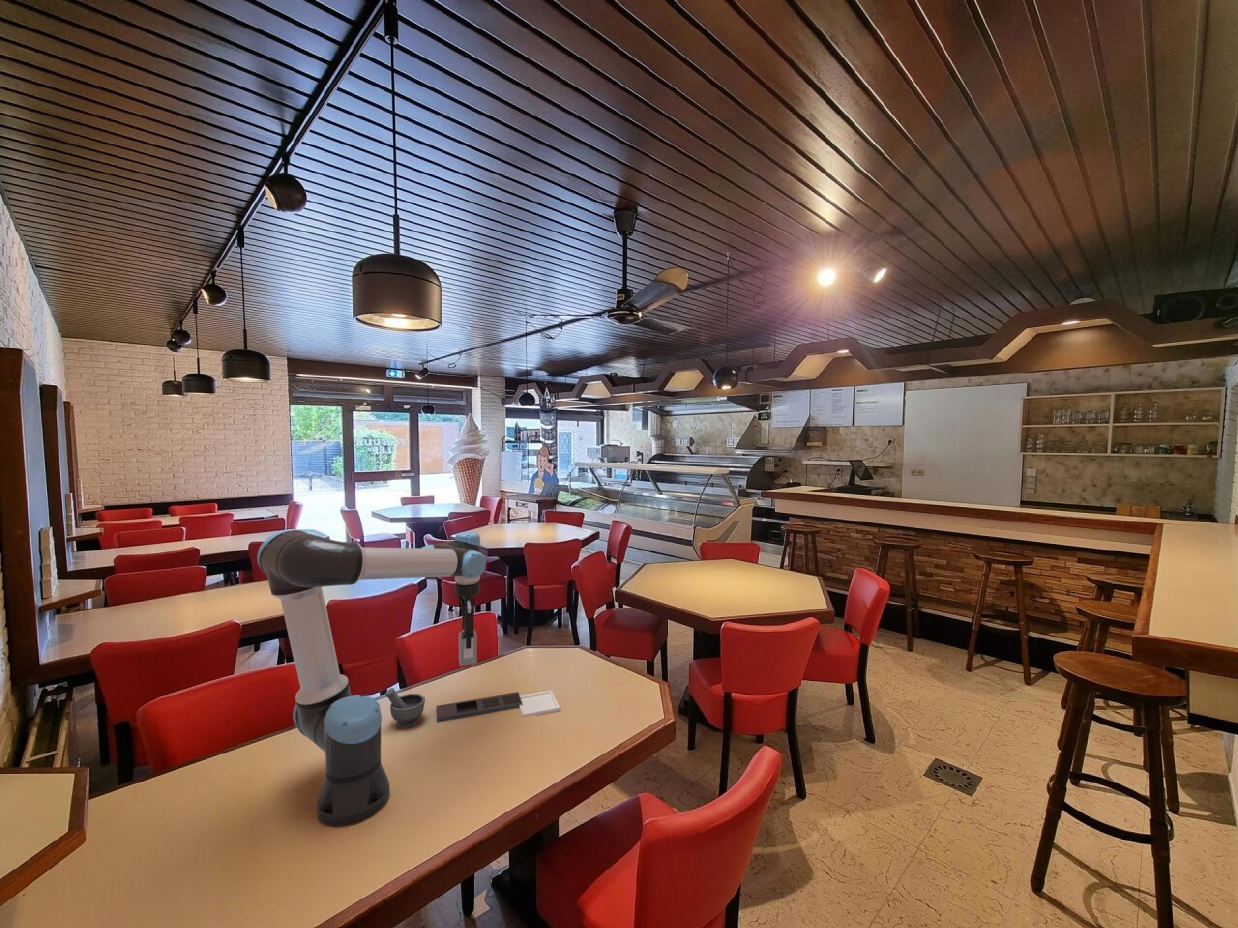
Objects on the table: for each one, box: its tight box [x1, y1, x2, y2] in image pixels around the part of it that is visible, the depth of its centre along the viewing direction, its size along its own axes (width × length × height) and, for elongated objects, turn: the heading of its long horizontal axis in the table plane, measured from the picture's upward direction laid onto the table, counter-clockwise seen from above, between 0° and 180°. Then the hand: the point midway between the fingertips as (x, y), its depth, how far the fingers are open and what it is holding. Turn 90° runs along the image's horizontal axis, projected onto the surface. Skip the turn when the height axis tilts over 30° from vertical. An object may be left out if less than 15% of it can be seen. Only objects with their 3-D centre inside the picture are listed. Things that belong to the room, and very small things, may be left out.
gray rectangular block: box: [458, 629, 478, 667], centre depth 158 cm, size 5×5×9 cm
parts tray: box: [518, 690, 561, 718], centre depth 163 cm, size 12×12×1 cm
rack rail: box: [436, 691, 523, 723], centre depth 160 cm, size 8×26×2 cm, turn 111°
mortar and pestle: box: [384, 687, 426, 729], centre depth 151 cm, size 11×9×12 cm
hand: (467, 653), depth 158 cm, fingers closed on gray rectangular block, 5 cm apart
